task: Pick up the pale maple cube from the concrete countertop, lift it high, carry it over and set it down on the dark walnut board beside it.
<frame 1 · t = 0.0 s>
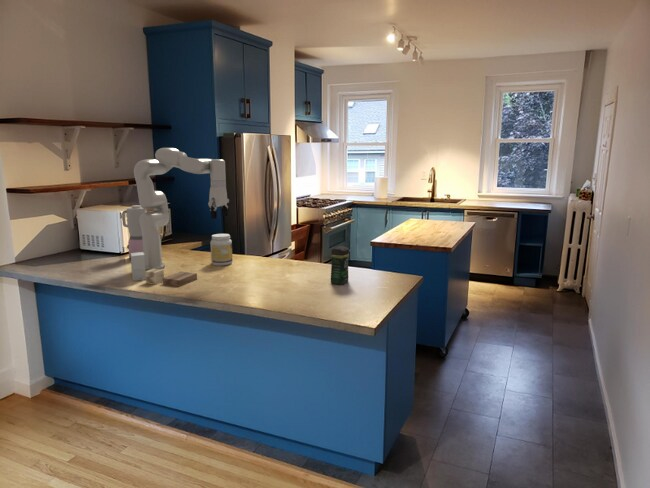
hand: (219, 217, 246), 31 cm above the countertop, tool pointing down, fingers open, 9 cm apart
maple cube: (155, 282, 240), on the countertop
walnut board: (180, 281, 241), on the countertop
coffee jar: (339, 282, 241), on the countertop
supplement tub: (222, 263, 279), on the countertop
blender: (137, 258, 291), on the countertop
small box: (139, 278, 246), on the countertop
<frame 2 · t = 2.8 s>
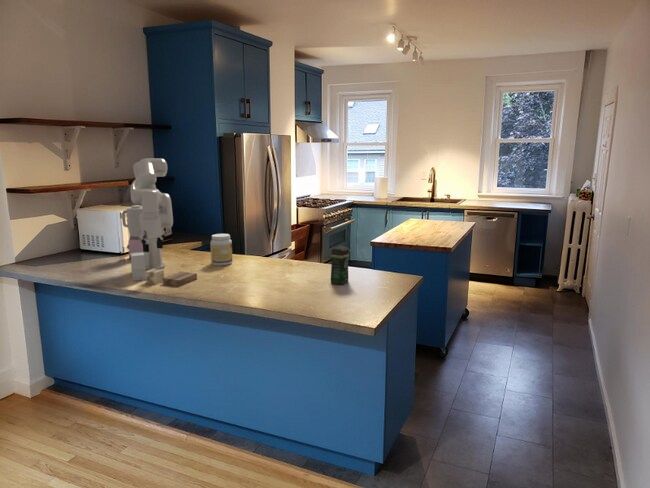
hand: (153, 250, 236), 16 cm above the countertop, tool pointing down, fingers open, 9 cm apart
nothing on the countertop moved.
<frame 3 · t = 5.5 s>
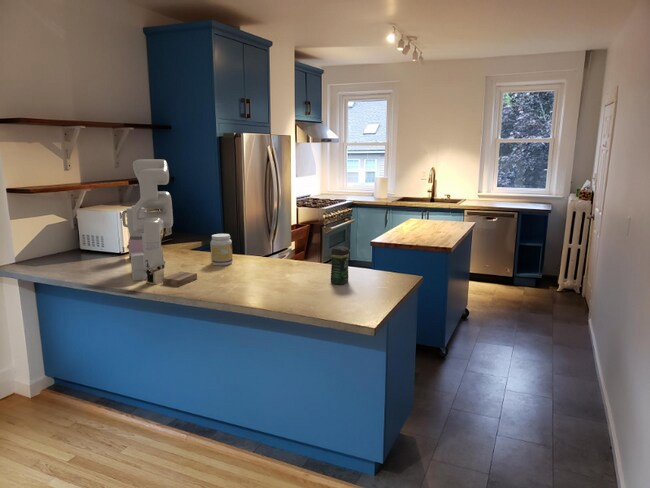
hand: (155, 279, 239), 1 cm above the countertop, tool pointing down, fingers closed on maple cube, 6 cm apart
maple cube: (155, 282, 240), on the countertop, touching gripper
everything else where it was.
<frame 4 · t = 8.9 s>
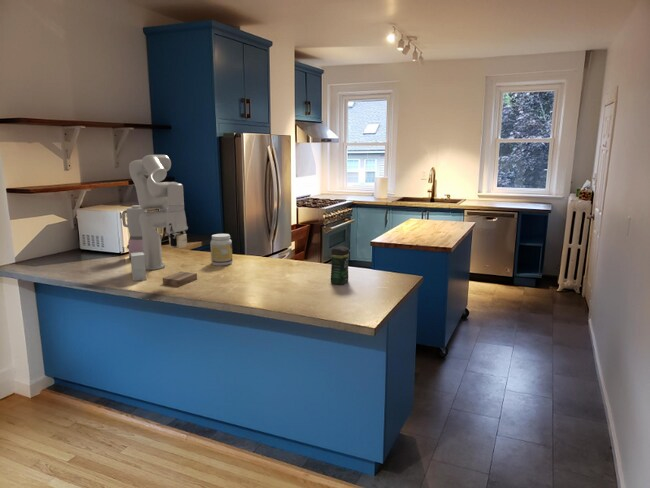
hand: (178, 244, 237), 19 cm above the countertop, tool pointing down, fingers closed on maple cube, 6 cm apart
maple cube: (178, 246, 237), point 18 cm above the countertop, touching gripper
everything else where it was.
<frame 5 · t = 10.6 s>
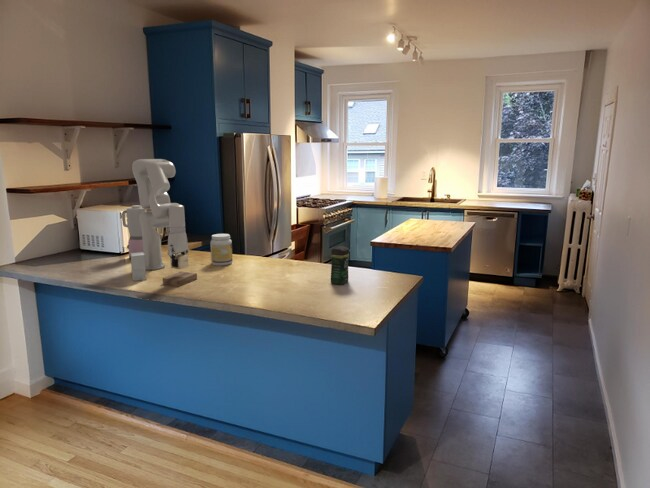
hand: (179, 265, 239), 9 cm above the countertop, tool pointing down, fingers closed on maple cube, 6 cm apart
maple cube: (179, 267, 239), point 7 cm above the countertop, touching gripper
everything else where it was.
when the fingers open (5 cm above the countertop, at t = 12.3 s): maple cube stays where it is, resting on walnut board.
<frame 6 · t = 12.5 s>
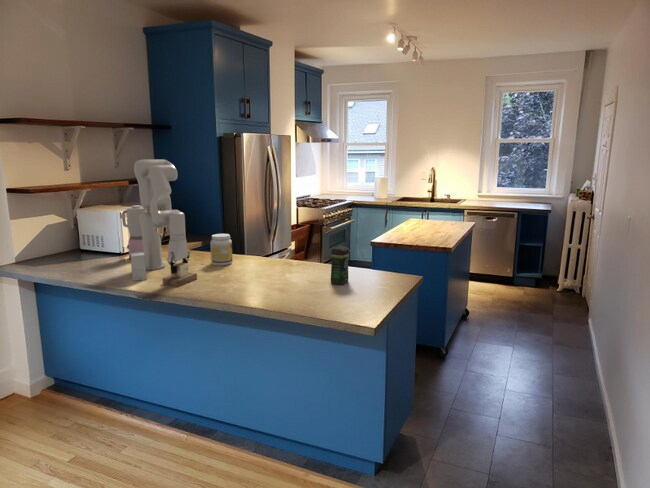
hand: (179, 270, 240), 6 cm above the countertop, tool pointing down, fingers open, 8 cm apart
maple cube: (179, 275, 240), point 3 cm above the countertop, touching walnut board
everything else where it was.
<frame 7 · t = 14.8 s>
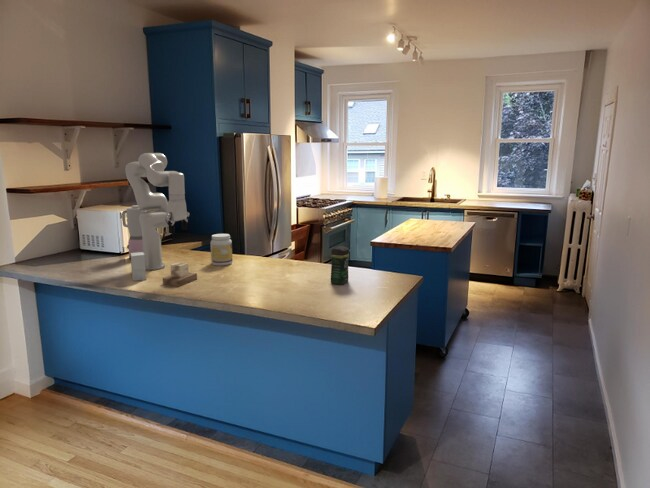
hand: (178, 231, 240), 25 cm above the countertop, tool pointing down, fingers open, 9 cm apart
nothing on the countertop moved.
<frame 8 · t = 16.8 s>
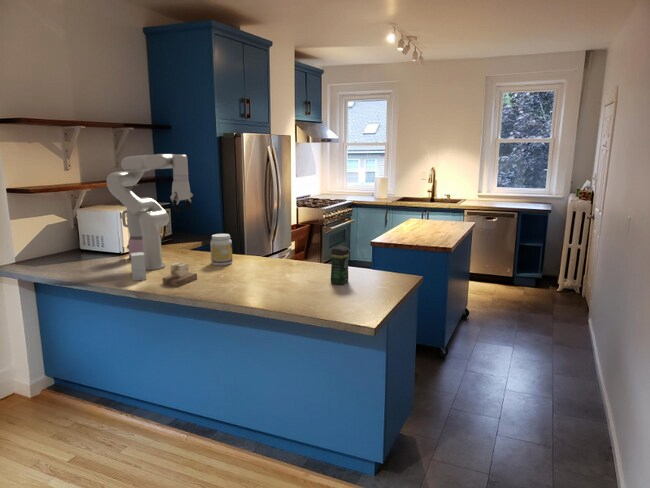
hand: (182, 210, 254), 33 cm above the countertop, tool pointing down, fingers open, 9 cm apart
nothing on the countertop moved.
at the end: maple cube inside the target area on the walnut board (0.1 cm from its centre), point 3.0 cm above the walnut board's base; maple cube tilted 0°; the gripper is holding nothing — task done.
